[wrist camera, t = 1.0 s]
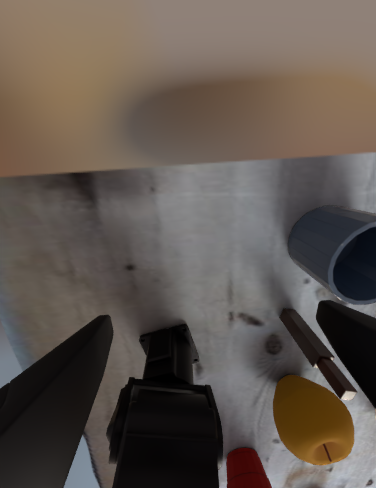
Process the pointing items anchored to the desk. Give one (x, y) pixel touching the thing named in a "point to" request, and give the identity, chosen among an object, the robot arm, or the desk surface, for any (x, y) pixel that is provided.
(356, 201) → the desk surface
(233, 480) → the plastic cup
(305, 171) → the desk surface
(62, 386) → the robot arm
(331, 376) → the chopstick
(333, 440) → the apple
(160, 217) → the desk surface
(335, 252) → the cup
